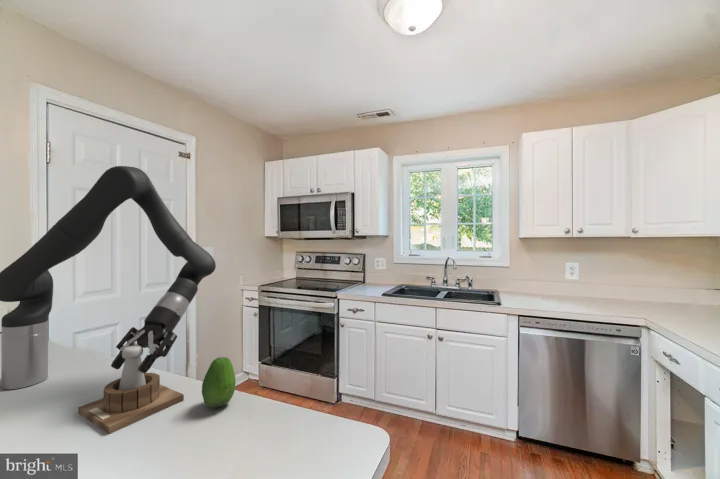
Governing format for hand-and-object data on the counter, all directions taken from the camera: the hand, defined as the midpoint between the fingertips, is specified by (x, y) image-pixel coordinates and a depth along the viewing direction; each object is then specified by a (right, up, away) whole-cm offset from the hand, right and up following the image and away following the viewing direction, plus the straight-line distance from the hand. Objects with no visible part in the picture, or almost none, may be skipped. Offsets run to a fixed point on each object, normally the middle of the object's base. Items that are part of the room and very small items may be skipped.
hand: (127, 369), depth 75 cm
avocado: (+21, -10, +2) cm, 24 cm away
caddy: (0, -10, +1) cm, 10 cm away
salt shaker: (0, -8, +2) cm, 9 cm away
